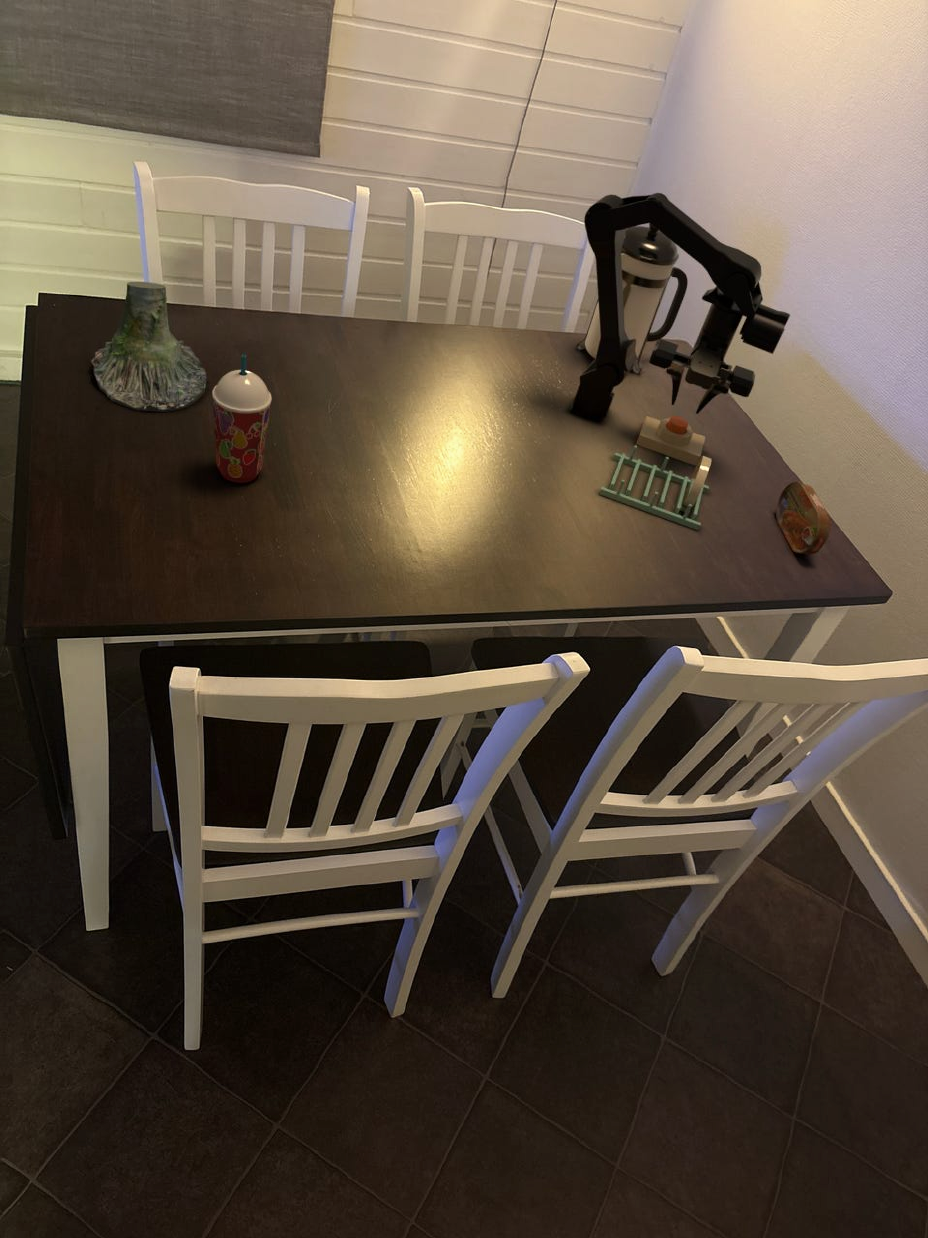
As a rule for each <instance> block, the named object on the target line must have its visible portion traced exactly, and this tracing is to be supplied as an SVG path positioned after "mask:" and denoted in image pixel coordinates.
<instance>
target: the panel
mask: <svg viewBox="0 0 928 1238" xmlns="http://www.w3.org/2000/svg"><path fill="white" fill-rule="evenodd" d="M670 418H671V417H665V418H663V419H657V418H653V417H652V416H651V417H650V416H649V415H647V416H645V419H644V422H643V424H642V426H641V429H640V433H639V434H638V438H637V440H636V443H635V445H636V446H640V447H642V448H646V449H648V450H650V451H653V452H657V453H659V454H662V455H665V456H666V457H669V458H673V459H676V460H678V461H680V462H681V461H682V462H684V463H686V464H690V465H692V466H695V467H696V466H697V464H698V462H699V460H700V458H701V457H702V453H703V449H704V444H705V440H706V436H704V435H701V434H699V433H696V432H694V430H693V429H692V427H691V426H690V425H689V424H688V427H687V429H686V431H685V433H684V434H677V433H674V432H672V431H670V430H669V429H668V428H667V425H668V422H669V420H670Z"/></svg>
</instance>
